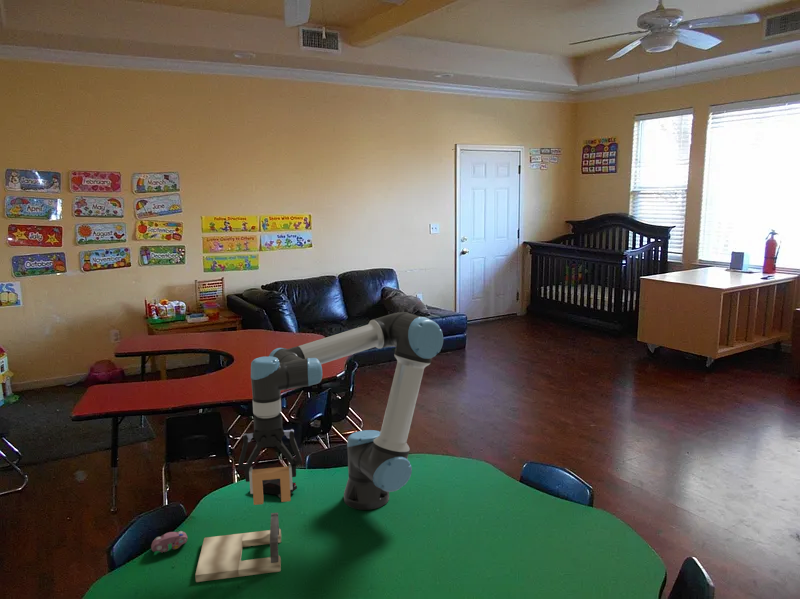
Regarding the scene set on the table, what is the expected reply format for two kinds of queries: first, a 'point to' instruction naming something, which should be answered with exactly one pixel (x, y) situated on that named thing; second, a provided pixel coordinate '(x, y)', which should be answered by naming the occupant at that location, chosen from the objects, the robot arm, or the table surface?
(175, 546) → the video game controller
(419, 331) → the robot arm
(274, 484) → the toy car
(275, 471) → the tan wooden arch
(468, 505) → the table surface
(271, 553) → the wooden base with post
